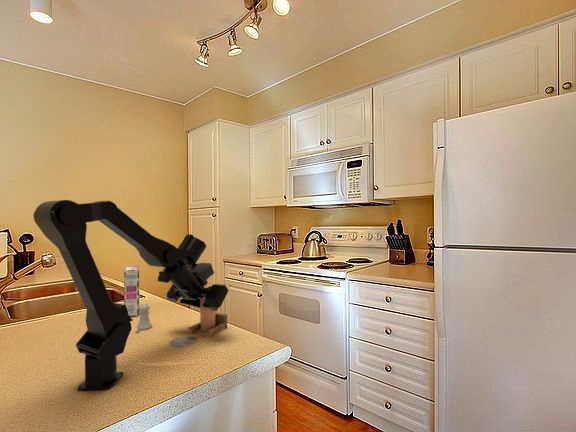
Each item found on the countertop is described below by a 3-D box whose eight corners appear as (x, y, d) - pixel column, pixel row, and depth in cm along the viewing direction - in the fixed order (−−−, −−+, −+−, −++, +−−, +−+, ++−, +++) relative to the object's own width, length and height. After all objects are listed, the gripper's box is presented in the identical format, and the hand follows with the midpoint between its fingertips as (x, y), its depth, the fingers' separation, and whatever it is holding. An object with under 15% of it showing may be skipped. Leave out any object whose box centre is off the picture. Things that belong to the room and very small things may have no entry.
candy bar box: (139, 316, 114) (139, 269, 114) (123, 318, 112) (123, 270, 112) (139, 308, 124) (139, 265, 124) (125, 310, 122) (124, 266, 122)
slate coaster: (193, 350, 84) (193, 345, 84) (165, 351, 83) (165, 346, 83) (199, 340, 91) (199, 335, 91) (173, 341, 90) (173, 336, 90)
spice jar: (214, 332, 94) (214, 294, 94) (198, 333, 93) (198, 294, 93) (217, 327, 98) (216, 291, 98) (201, 327, 98) (201, 291, 98)
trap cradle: (209, 340, 90) (209, 322, 90) (188, 335, 94) (187, 318, 94) (227, 331, 97) (227, 314, 97) (206, 327, 101) (206, 311, 101)
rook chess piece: (146, 334, 96) (146, 307, 96) (133, 333, 97) (132, 306, 97) (155, 329, 100) (155, 303, 100) (142, 328, 101) (142, 302, 101)
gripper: (223, 256, 88) (247, 288, 98) (173, 253, 96) (199, 283, 106) (204, 291, 81) (231, 322, 91) (152, 284, 89) (182, 313, 99)
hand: (210, 308), depth 97 cm, fingers closed on spice jar, 4 cm apart
